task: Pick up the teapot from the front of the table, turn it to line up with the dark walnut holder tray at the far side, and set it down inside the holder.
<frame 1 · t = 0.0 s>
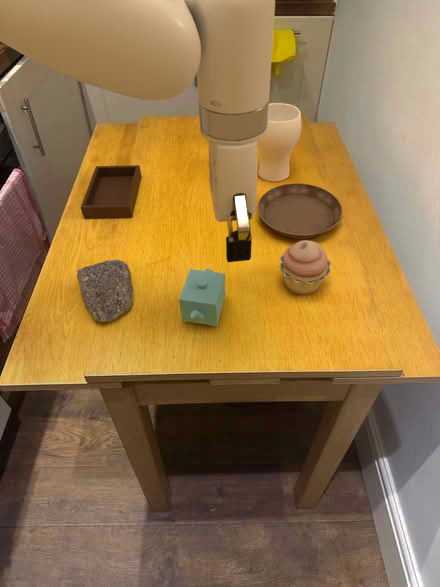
hand: (233, 236, 57), 18 cm above the table, tool pointing down, fingers open, 9 cm apart
teapot: (203, 315, 71), on the table
cup: (273, 173, 100), on the table
plant saucer: (298, 219, 88), on the table
cupcake: (301, 283, 76), on the table
holder: (114, 196, 95), on the table
rock: (112, 298, 74), on the table
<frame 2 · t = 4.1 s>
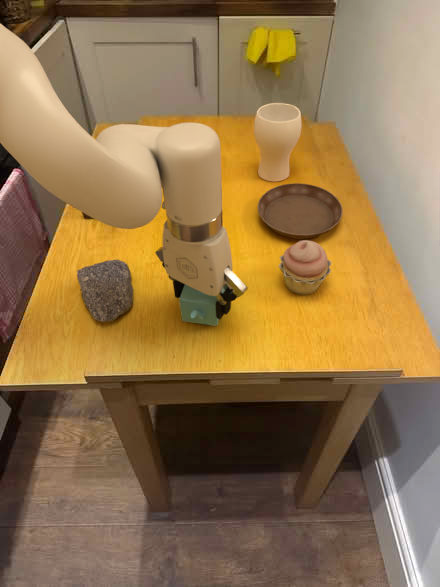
hand: (202, 302, 68), 3 cm above the table, tool pointing down, fingers closed on teapot, 7 cm apart
teapot: (203, 315, 71), on the table, touching gripper
everything else where it was.
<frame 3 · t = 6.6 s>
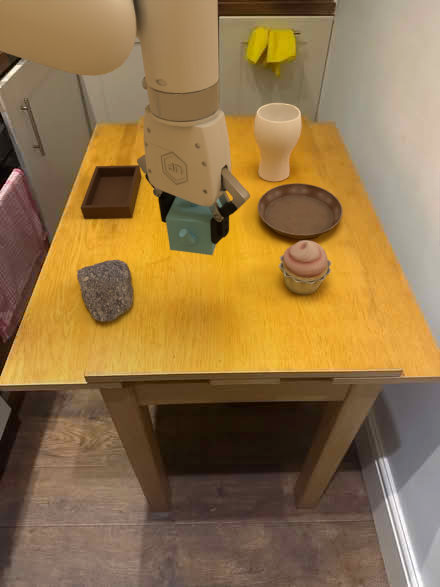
hand: (194, 226, 56), 20 cm above the table, tool pointing down, fingers closed on teapot, 7 cm apart
teapot: (196, 246, 59), point 16 cm above the table, touching gripper
everything else where it was.
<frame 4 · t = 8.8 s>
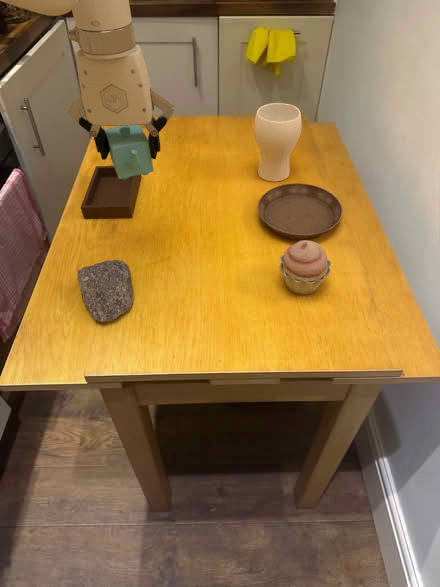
hand: (130, 154, 69), 20 cm above the table, tool pointing down, fingers closed on teapot, 7 cm apart
teapot: (134, 173, 72), point 16 cm above the table, touching gripper
everything else where it was.
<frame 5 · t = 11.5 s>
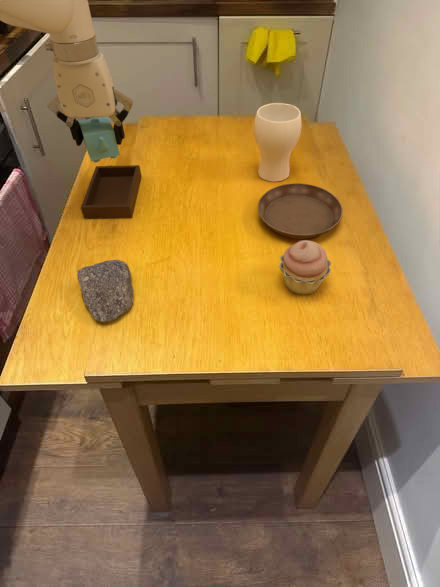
hand: (100, 141, 85), 14 cm above the table, tool pointing down, fingers closed on teapot, 7 cm apart
teapot: (104, 157, 88), point 10 cm above the table, touching gripper
everything else where it was.
when the fingers open (5 cm above the table, at t = 13.8 s): teapot drops 1 cm, resting on holder.
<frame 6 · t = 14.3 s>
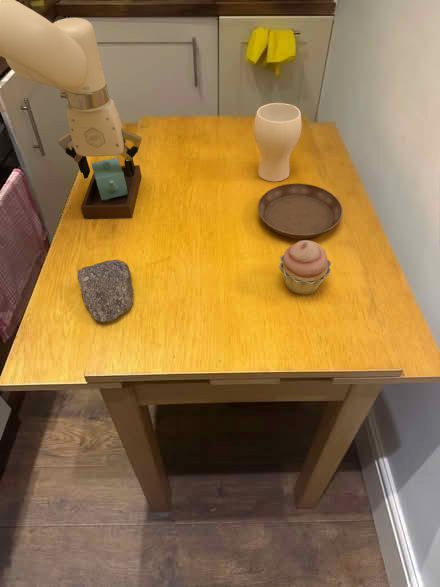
hand: (108, 174, 91), 6 cm above the table, tool pointing down, fingers open, 9 cm apart
teapot: (114, 195, 95), resting on holder
everything else where it was.
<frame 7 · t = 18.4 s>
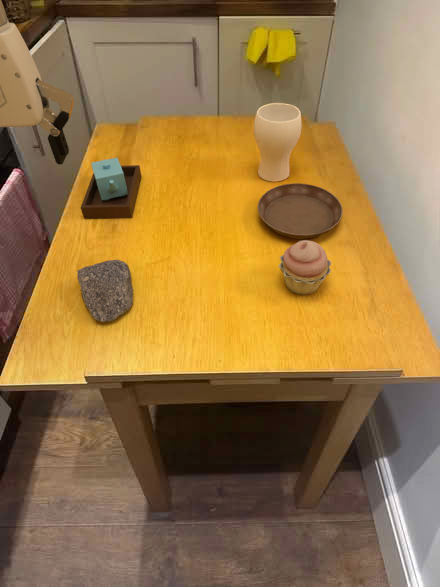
hand: (27, 160, 56), 26 cm above the table, tool pointing down, fingers open, 9 cm apart
nothing on the table moved.
at the end: teapot 0.1 cm off-centre in the holder, point 0.4 cm above the holder's base; teapot tilted 0°; the gripper is holding nothing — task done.
